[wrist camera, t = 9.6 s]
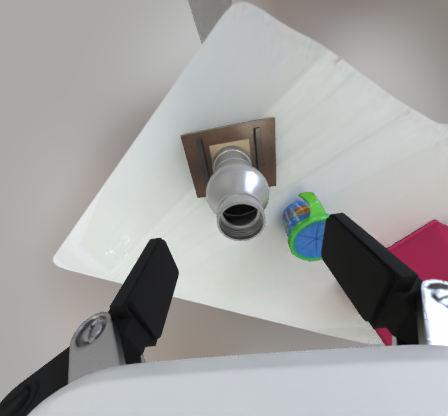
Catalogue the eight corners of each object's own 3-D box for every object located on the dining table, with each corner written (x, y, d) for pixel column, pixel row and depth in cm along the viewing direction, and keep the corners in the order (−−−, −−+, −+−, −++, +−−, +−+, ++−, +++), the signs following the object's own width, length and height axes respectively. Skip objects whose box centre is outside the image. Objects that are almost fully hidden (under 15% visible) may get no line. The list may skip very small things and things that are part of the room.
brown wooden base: (185, 133, 32) (178, 136, 27) (268, 117, 30) (277, 117, 25) (200, 190, 37) (196, 201, 32) (271, 179, 36) (278, 188, 31)
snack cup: (315, 237, 43) (338, 268, 35) (274, 240, 44) (287, 272, 35) (325, 181, 36) (358, 202, 27) (277, 186, 37) (293, 208, 28)
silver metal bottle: (216, 139, 28) (201, 174, 11) (254, 147, 29) (300, 191, 11) (210, 175, 31) (192, 248, 14) (245, 182, 32) (270, 259, 14)
